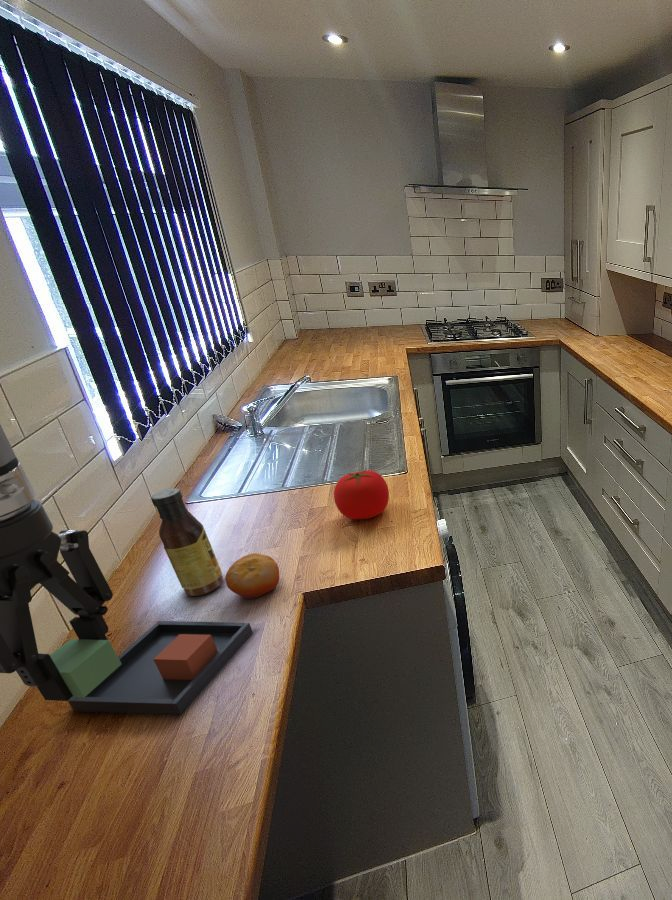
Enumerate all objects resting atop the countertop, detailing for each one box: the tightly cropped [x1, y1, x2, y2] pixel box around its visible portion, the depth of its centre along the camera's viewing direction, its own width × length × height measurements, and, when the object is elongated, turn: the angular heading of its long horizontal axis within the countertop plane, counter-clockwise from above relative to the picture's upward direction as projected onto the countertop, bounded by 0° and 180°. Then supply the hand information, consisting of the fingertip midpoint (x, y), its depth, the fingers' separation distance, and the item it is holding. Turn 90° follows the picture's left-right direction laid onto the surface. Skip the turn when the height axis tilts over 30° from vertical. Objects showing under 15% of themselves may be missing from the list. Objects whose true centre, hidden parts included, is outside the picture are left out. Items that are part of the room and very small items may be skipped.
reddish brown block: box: [153, 634, 218, 680], centre depth 79 cm, size 5×5×4 cm
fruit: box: [224, 552, 280, 600], centre depth 95 cm, size 8×8×8 cm
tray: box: [67, 620, 254, 716], centre depth 80 cm, size 16×16×2 cm
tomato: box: [333, 468, 390, 520], centre depth 118 cm, size 11×12×10 cm
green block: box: [49, 638, 121, 698], centre depth 62 cm, size 5×5×4 cm
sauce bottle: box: [150, 487, 224, 597], centre depth 94 cm, size 7×6×20 cm
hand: (82, 677), depth 63 cm, fingers closed on green block, 5 cm apart
